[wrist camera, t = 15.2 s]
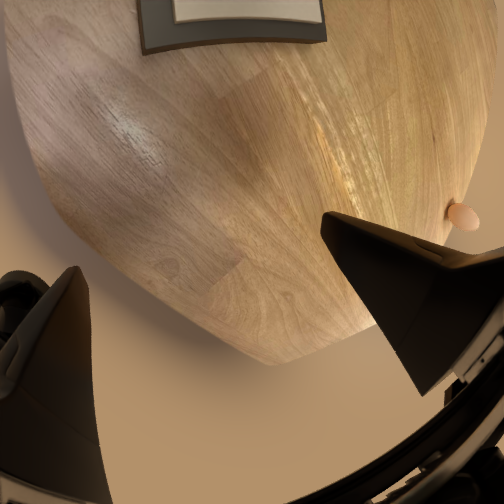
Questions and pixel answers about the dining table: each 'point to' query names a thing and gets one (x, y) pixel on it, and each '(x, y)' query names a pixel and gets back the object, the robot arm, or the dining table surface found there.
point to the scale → (228, 22)
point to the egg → (463, 217)
